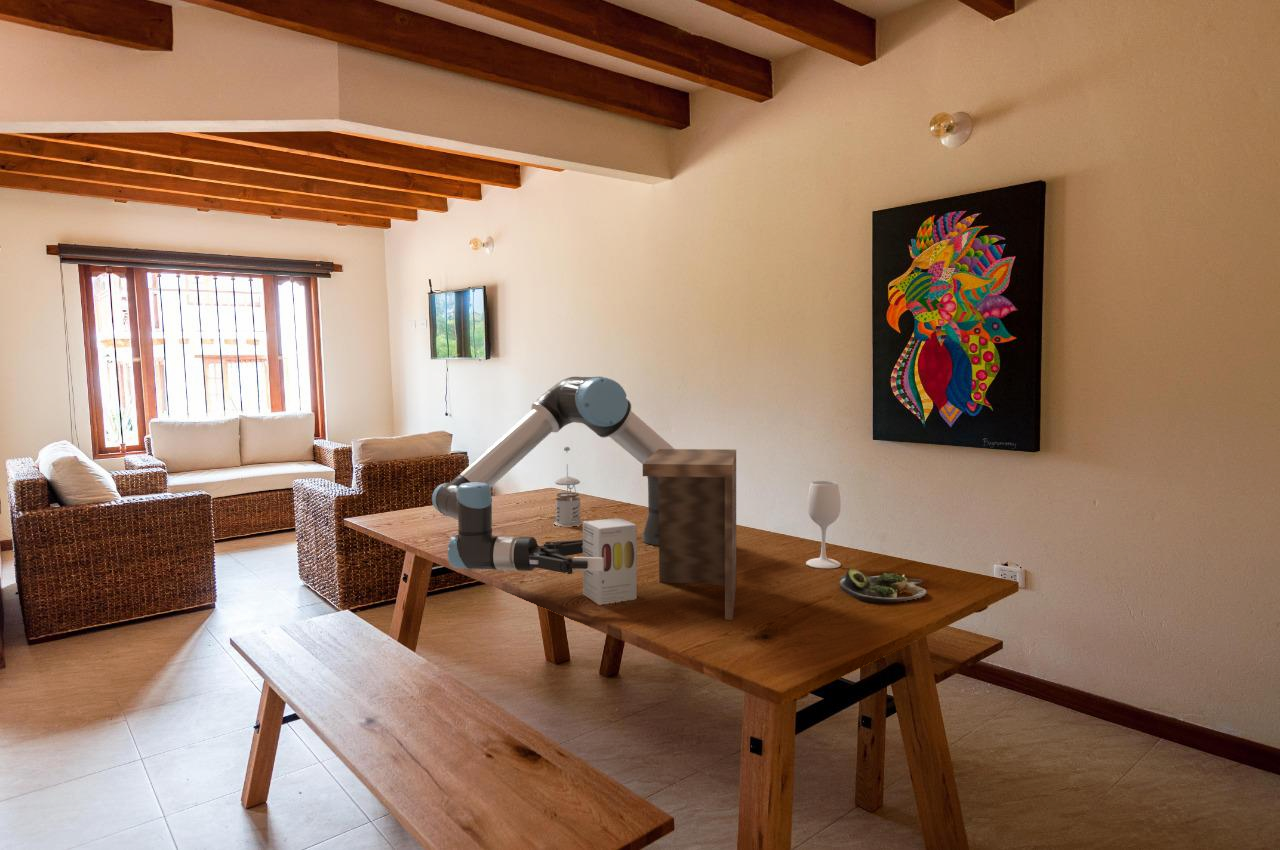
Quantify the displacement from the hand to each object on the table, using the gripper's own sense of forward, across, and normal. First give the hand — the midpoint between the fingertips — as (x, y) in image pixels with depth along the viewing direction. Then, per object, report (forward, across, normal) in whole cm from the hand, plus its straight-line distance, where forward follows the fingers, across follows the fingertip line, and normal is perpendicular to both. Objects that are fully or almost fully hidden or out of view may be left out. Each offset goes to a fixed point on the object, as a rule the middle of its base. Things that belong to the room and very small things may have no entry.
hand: (610, 556), depth 171 cm
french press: (-28, -75, -10) cm, 81 cm away
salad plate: (+59, -12, -10) cm, 61 cm away
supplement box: (0, 0, -10) cm, 10 cm away
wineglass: (+48, -34, -10) cm, 60 cm away
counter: (+18, -1, -9) cm, 20 cm away
